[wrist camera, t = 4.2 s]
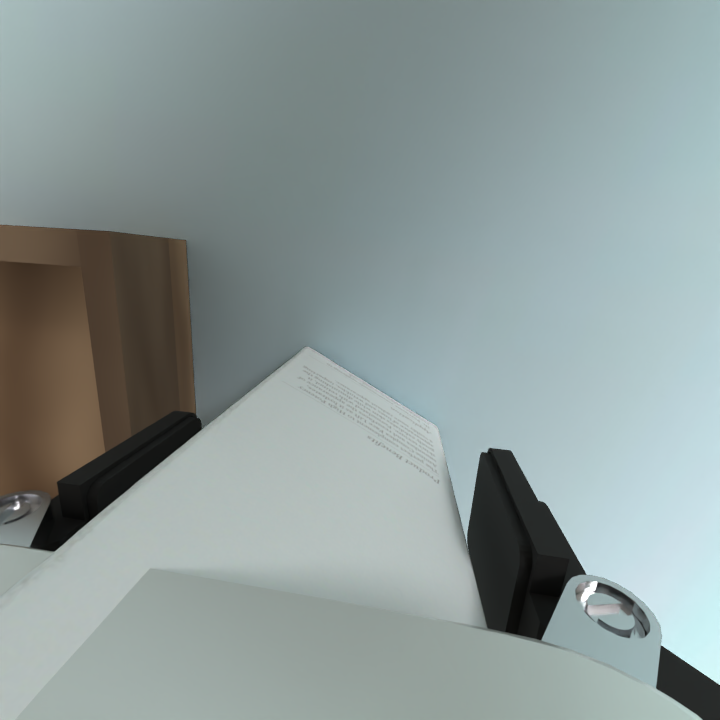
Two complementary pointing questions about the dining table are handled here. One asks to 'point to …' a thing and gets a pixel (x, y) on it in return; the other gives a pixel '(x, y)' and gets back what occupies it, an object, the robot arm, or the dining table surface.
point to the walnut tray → (87, 346)
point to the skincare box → (262, 520)
